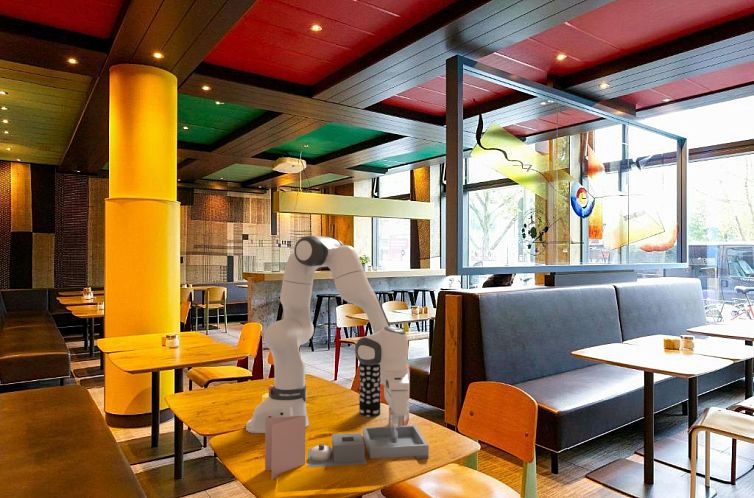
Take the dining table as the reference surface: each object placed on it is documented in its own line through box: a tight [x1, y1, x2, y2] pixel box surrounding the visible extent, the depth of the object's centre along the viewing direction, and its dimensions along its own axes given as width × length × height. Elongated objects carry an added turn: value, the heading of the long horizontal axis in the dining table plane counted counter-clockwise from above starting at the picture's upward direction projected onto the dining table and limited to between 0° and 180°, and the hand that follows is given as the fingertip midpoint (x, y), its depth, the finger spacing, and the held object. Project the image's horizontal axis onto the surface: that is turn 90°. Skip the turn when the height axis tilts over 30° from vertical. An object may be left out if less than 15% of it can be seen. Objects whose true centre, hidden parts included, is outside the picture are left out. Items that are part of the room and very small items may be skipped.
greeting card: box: [264, 416, 306, 480], centre depth 137 cm, size 11×7×15 cm, turn 100°
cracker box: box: [388, 364, 411, 426], centre depth 176 cm, size 14×6×21 cm, turn 168°
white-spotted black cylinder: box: [358, 361, 382, 418], centre depth 190 cm, size 8×8×20 cm
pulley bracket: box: [307, 432, 367, 468], centre depth 146 cm, size 17×13×6 cm
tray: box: [362, 424, 430, 460], centre depth 154 cm, size 18×18×4 cm
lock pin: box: [388, 408, 398, 443], centre depth 155 cm, size 4×4×10 cm
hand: (394, 420), depth 155 cm, fingers closed on lock pin, 2 cm apart
